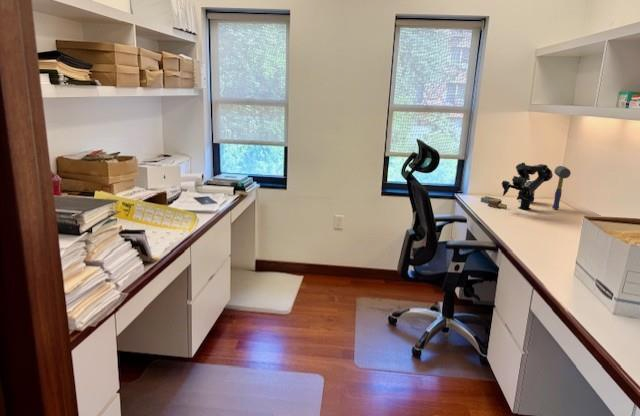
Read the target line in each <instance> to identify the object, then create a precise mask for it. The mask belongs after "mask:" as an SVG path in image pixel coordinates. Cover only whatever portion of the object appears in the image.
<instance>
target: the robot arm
mask: <svg viewBox="0 0 640 416" xmlns="http://www.w3.org/2000/svg"><path fill="white" fill-rule="evenodd" d="M515 170H516V172H517V175H518V176H516V175H514V176H513V177H512V179H511V181H512V184H511V183H510V181H507V180H503V181H502V182H501V186H502V189H503V193H502V196H505V195H506V194H507V193H508V192H509V189H514V190H517V191H518V196H517V197H516V200H519V199H521V203H520V206H519V207H518V208H517V209H521V210H525V211H529V210H531V209H532V208H531V207H530V206H531V203H534V201H535V194H534V195H533V192H534V191H535V192H536V190H537V189H538V188H539V187H540V186H541V185H542V184H543V183H544V182H549V181H550V180H551V179H553V176H554V175H553V171H552V170H551V168H549V166H548V165H547V164H535V165H527V164H526V162H521V163H519V164H517V165H516V166H515ZM536 173H537V177H536V178H535V179H533V180H534V181H533V182H532V183H531V184H530V185H529V186H528V187H527V186H525V183H526V182H527V180H531V178H530V175H531V176H532V175H533V176H534V175H535V174H536ZM522 187H523V188H522Z"/></svg>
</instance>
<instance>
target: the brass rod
mask: <svg viewBox="0 0 640 416" xmlns="http://www.w3.org/2000/svg"><path fill="white" fill-rule="evenodd" d="M507 207H508V205H507V204H504V203H501V204H500V203H498V206H497V208H499V209H504V210H506V209H507Z"/></svg>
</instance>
